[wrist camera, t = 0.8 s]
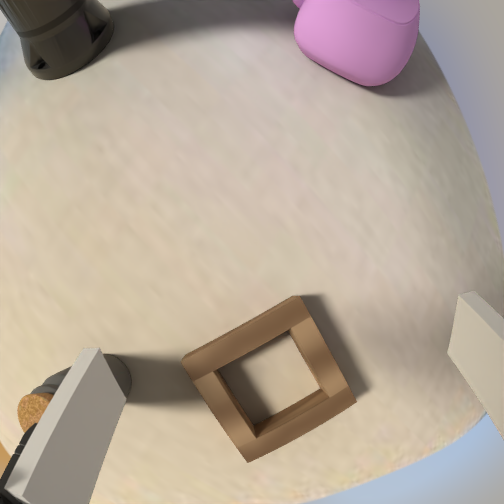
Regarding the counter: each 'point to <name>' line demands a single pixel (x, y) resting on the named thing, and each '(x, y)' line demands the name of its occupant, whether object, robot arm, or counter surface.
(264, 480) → the counter surface
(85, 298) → the counter surface
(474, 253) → the counter surface
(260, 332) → the block
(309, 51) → the teapot
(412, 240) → the counter surface
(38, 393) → the bottle
